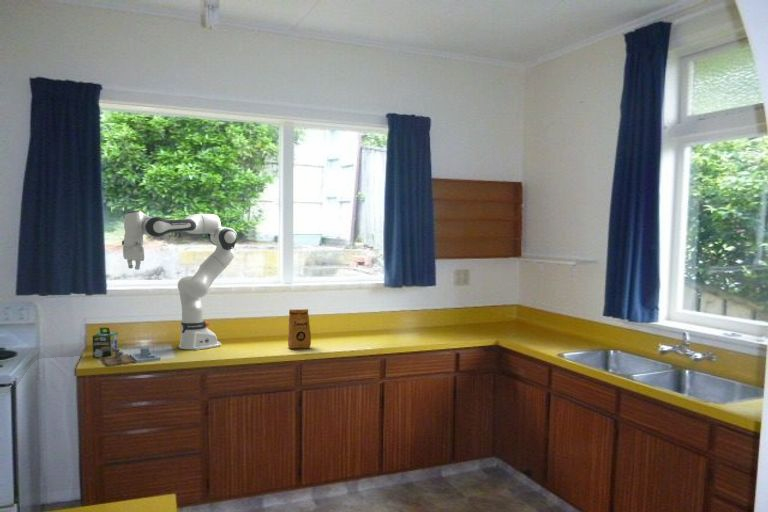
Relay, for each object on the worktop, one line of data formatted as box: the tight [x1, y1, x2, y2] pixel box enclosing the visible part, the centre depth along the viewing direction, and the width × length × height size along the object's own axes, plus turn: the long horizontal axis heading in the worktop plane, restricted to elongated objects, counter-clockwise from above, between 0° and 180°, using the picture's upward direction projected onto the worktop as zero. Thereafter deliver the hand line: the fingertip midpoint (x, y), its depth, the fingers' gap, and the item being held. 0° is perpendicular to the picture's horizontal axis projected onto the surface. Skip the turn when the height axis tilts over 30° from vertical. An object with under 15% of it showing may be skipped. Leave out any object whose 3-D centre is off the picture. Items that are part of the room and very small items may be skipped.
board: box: [101, 347, 136, 368], centre depth 267 cm, size 12×16×5 cm
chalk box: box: [91, 326, 119, 358], centre depth 279 cm, size 9×9×15 cm
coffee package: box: [287, 308, 312, 350], centre depth 305 cm, size 10×12×22 cm
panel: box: [129, 346, 161, 363], centre depth 275 cm, size 11×15×5 cm
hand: (133, 268), depth 281 cm, fingers open, 8 cm apart
